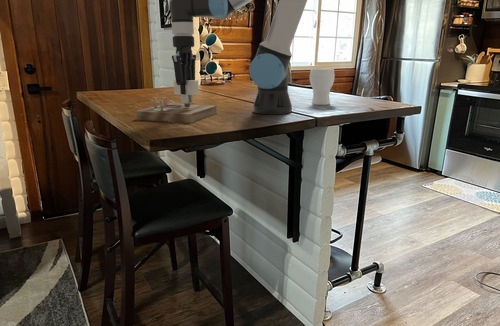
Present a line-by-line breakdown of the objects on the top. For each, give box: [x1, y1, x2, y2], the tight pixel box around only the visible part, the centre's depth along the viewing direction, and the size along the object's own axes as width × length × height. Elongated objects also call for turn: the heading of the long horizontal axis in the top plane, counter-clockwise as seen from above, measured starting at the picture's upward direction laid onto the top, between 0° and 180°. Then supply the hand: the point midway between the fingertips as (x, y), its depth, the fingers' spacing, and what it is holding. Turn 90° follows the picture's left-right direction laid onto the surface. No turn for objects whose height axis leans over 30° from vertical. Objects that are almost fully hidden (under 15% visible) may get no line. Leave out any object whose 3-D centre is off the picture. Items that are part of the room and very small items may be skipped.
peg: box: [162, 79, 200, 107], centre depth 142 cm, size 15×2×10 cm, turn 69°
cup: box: [309, 67, 336, 106], centre depth 167 cm, size 11×11×15 cm
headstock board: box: [135, 97, 218, 124], centre depth 141 cm, size 22×20×7 cm
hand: (187, 102), depth 142 cm, fingers closed on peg, 2 cm apart
